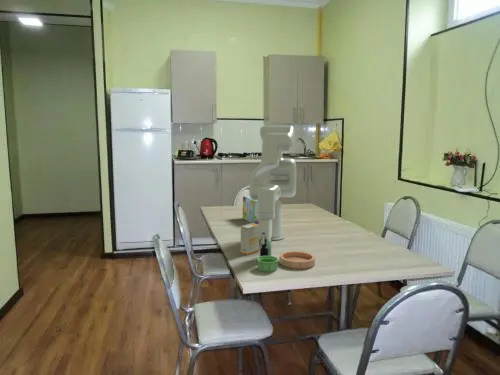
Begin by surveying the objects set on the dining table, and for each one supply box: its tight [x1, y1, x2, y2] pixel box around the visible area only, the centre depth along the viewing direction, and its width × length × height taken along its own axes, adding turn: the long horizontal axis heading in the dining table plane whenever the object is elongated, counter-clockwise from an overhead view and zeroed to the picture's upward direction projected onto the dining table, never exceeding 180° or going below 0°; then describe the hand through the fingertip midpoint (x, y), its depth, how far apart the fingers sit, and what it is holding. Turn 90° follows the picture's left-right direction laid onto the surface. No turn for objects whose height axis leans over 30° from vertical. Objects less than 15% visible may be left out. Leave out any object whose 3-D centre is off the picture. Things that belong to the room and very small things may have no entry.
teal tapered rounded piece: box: [259, 240, 272, 257], centre depth 181 cm, size 5×5×8 cm
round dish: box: [278, 250, 316, 270], centre depth 175 cm, size 15×15×3 cm
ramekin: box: [256, 255, 279, 273], centre depth 168 cm, size 9×9×4 cm
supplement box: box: [240, 222, 260, 256], centre depth 190 cm, size 8×5×13 cm, turn 141°
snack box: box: [242, 195, 259, 224], centre depth 255 cm, size 21×6×15 cm, turn 22°
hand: (265, 254), depth 181 cm, fingers closed on teal tapered rounded piece, 5 cm apart
